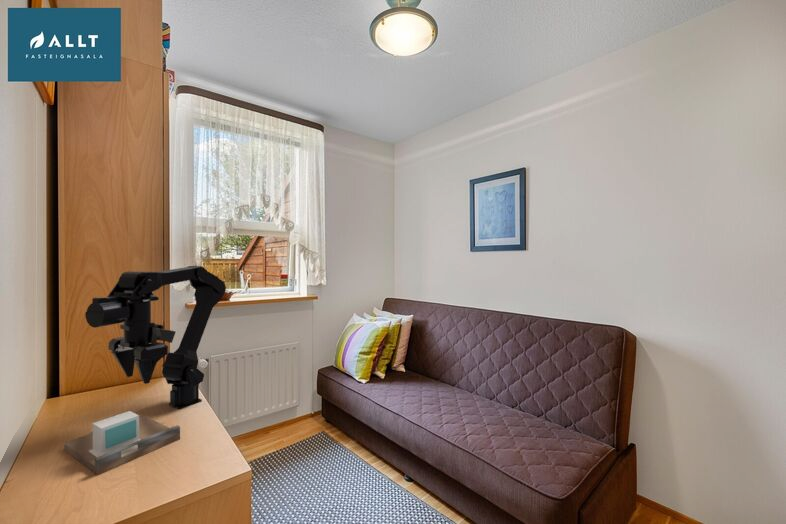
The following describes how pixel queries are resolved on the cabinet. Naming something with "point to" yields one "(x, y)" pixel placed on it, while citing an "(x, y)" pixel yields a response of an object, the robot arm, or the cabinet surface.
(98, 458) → the shelf board
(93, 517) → the cabinet surface
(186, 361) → the robot arm
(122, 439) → the carton
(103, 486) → the cabinet surface
